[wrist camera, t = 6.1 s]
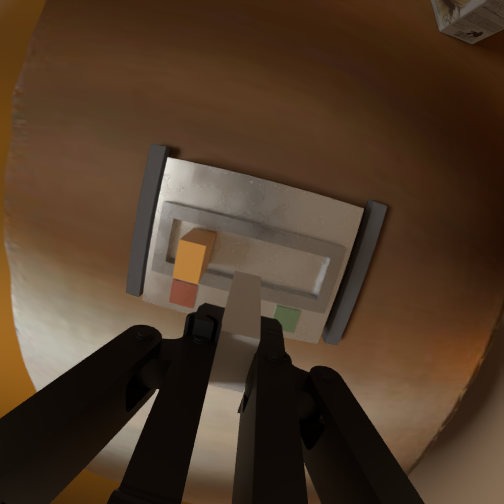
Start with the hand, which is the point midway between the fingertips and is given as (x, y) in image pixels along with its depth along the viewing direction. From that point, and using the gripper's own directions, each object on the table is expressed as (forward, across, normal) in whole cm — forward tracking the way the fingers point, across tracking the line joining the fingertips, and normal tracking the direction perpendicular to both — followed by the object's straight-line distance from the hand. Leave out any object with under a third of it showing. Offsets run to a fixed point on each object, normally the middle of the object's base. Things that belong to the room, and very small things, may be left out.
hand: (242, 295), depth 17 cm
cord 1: (+14, -11, -1) cm, 18 cm away
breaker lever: (+10, -4, -1) cm, 11 cm away
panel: (+14, 0, -1) cm, 14 cm away
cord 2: (+14, +12, -1) cm, 18 cm away
